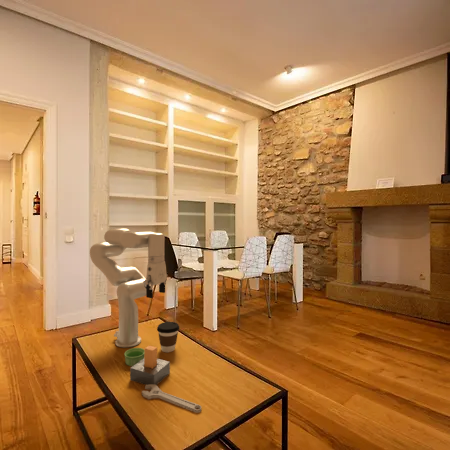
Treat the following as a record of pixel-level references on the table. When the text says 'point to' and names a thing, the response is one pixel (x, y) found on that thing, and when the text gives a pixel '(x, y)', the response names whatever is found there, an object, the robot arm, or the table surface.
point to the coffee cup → (168, 335)
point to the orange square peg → (150, 357)
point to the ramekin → (134, 356)
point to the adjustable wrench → (169, 398)
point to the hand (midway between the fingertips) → (156, 295)
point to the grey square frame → (150, 372)
